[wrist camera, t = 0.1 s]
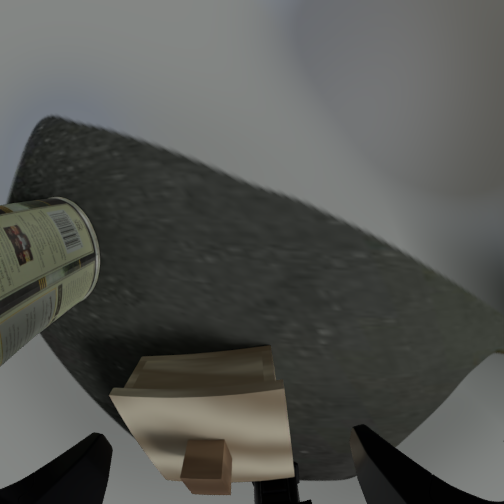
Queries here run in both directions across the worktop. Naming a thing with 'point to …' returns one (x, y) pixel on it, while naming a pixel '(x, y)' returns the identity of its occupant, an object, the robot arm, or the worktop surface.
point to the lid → (211, 433)
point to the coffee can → (42, 267)
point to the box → (204, 369)
